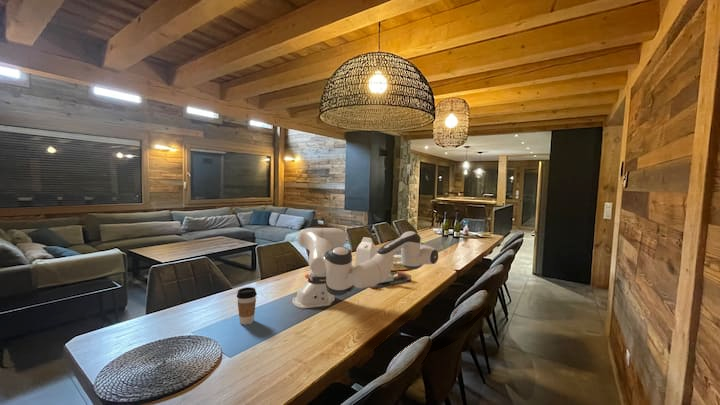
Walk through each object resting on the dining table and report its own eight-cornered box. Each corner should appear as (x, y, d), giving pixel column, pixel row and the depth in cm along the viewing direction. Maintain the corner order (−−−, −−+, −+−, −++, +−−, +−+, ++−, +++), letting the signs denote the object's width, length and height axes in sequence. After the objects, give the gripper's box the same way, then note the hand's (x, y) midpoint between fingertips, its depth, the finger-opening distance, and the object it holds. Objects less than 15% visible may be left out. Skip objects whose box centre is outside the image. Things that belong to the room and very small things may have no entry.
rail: (372, 289, 181) (372, 282, 180) (363, 284, 189) (363, 277, 189) (410, 281, 196) (411, 275, 196) (401, 277, 205) (401, 271, 204)
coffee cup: (235, 327, 131) (235, 293, 130) (238, 318, 139) (237, 286, 138) (256, 325, 133) (256, 292, 132) (257, 316, 141) (257, 285, 140)
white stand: (381, 282, 184) (382, 261, 184) (373, 278, 192) (373, 258, 191) (393, 280, 189) (393, 260, 188) (384, 276, 197) (385, 256, 196)
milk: (378, 274, 208) (379, 237, 207) (369, 279, 199) (370, 240, 197) (363, 271, 215) (364, 235, 213) (354, 275, 205) (355, 238, 203)
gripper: (398, 258, 157) (382, 252, 169) (427, 254, 167) (410, 248, 179) (398, 246, 156) (382, 241, 168) (427, 242, 167) (411, 238, 179)
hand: (397, 245), depth 174 cm, fingers open, 8 cm apart
